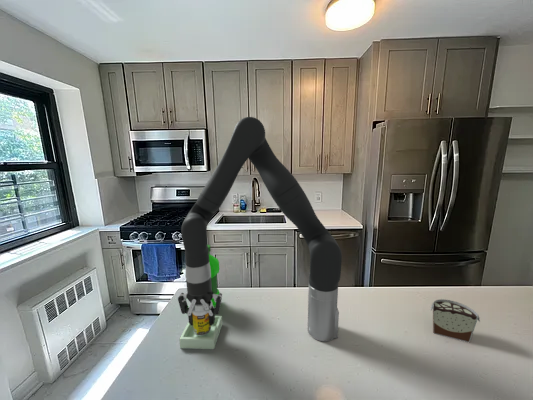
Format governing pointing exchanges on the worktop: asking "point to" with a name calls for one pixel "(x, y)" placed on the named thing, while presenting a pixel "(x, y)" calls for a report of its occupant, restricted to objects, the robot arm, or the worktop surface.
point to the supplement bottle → (200, 320)
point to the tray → (201, 342)
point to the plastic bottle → (214, 274)
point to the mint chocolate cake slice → (453, 319)
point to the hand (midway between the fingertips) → (202, 323)
